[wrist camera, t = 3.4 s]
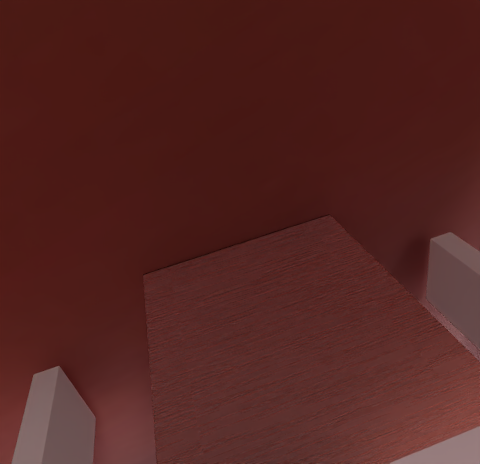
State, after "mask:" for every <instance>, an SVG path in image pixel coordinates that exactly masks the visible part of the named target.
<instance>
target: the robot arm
mask: <svg viewBox="0 0 480 464" xmlns="http://www.w3.org/2000/svg"><path fill="white" fill-rule="evenodd" d="M426 299H427V300H428V301H429V302H430V303H431V304H432V305H433V306H434V307H435V308H436V309H437V310H438V311H439V312H440V313H441V314H443V315H444V316H445V317H446V318H447V319H448V320H449V321H450V322H451V323H452V324H453V325H454V326H455V327H456V328H457V329H458V330H459V331H460V332H462V333H463V334H464V335H465V336H466V337H467V338H468V339H469V340H470V341H471V342H472V343H473V344H474V345H475V346H476V347H477V348H478V349H479V350H480V251H478V250H477V249H475V248H474V247H472V246H471V245H469V244H468V243H467V242H465V241H464V240H462V239H461V238H459V237H458V236H456V235H455V234H453V233H452V232H449V233H446V234H443V235H440V236H437V237H434V238H431V239H430V251H429V264H428V277H427V291H426ZM95 425H96V417H95V416H94V414H93V413H92V411H91V410H90V409H89V407H88V406H87V404H86V403H85V402H84V400H83V399H82V397H81V396H80V394H79V393H78V392H77V390H76V389H75V387H74V386H73V384H72V383H71V382H70V380H69V379H68V377H67V376H66V374H65V373H64V372H63V370H62V369H61V367H60V366H57V367H54V368H51V369H48V370H45V371H42V372H39V373H36V374H34V375H33V379H32V383H31V387H30V391H29V395H28V399H27V403H26V407H25V411H24V415H23V419H22V423H21V427H20V431H19V435H18V439H17V443H16V447H15V451H14V455H13V459H12V463H11V464H93V454H94V440H95Z"/></svg>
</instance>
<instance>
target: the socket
mask: <svg viewBox="0 0 480 464" xmlns="http://www.w3.org/2000/svg"><path fill="white" fill-rule="evenodd" d="M143 282H144V295H145V309H146V322H147V336H148V349H149V363H150V376H151V390H152V403H153V417H154V430H155V444H156V457H157V464H480V362H479V361H478V360H477V359H476V358H475V357H474V356H473V355H472V354H471V353H470V352H469V351H468V350H467V349H466V348H465V347H464V346H463V345H462V344H461V343H460V342H459V341H458V340H457V339H456V338H455V337H454V336H453V335H452V334H451V333H450V332H449V331H448V330H447V329H446V328H445V327H444V326H443V325H442V324H441V323H440V322H439V321H438V320H436V319H435V318H434V317H433V316H432V315H431V314H430V313H429V312H428V311H427V310H426V309H425V308H424V307H423V306H422V305H421V304H420V303H419V302H418V301H417V300H416V299H415V298H414V297H413V296H412V295H411V294H410V293H409V292H408V291H407V290H406V289H405V288H404V287H403V286H402V285H401V284H400V283H399V282H398V281H397V280H396V279H395V278H394V277H393V276H392V275H391V274H390V273H389V272H388V271H387V270H386V269H385V268H384V267H383V266H382V265H381V264H380V263H378V262H377V261H376V260H375V259H374V258H373V257H372V256H371V255H370V254H369V253H368V252H367V251H366V250H365V249H364V248H363V247H362V246H361V245H360V244H359V243H358V242H357V241H356V240H355V239H354V238H353V237H352V236H351V235H350V234H349V233H348V232H347V231H346V230H345V229H344V228H343V227H342V226H341V225H340V224H339V223H338V222H337V221H336V220H335V219H334V218H333V217H332V216H331V215H327V216H324V217H321V218H318V219H315V220H312V221H309V222H306V223H303V224H300V225H296V226H293V227H290V228H287V229H284V230H281V231H278V232H275V233H272V234H269V235H266V236H262V237H259V238H256V239H253V240H250V241H247V242H244V243H241V244H238V245H235V246H232V247H228V248H225V249H222V250H219V251H216V252H213V253H210V254H207V255H204V256H201V257H198V258H194V259H191V260H188V261H185V262H182V263H179V264H176V265H173V266H170V267H167V268H164V269H160V270H157V271H154V272H151V273H148V274H145V275H143Z"/></svg>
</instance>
